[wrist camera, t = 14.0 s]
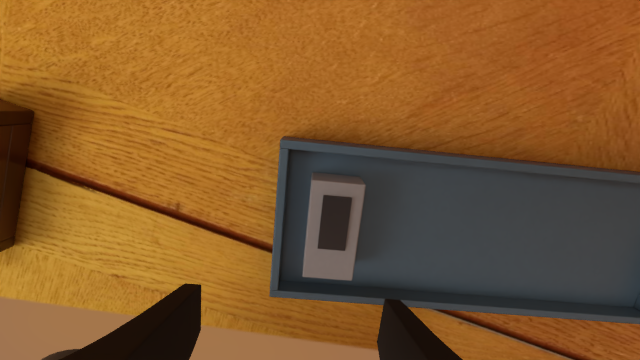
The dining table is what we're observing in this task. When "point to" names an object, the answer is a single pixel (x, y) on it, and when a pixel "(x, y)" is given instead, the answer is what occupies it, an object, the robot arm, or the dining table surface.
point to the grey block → (333, 226)
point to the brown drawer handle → (12, 166)
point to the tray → (468, 232)
